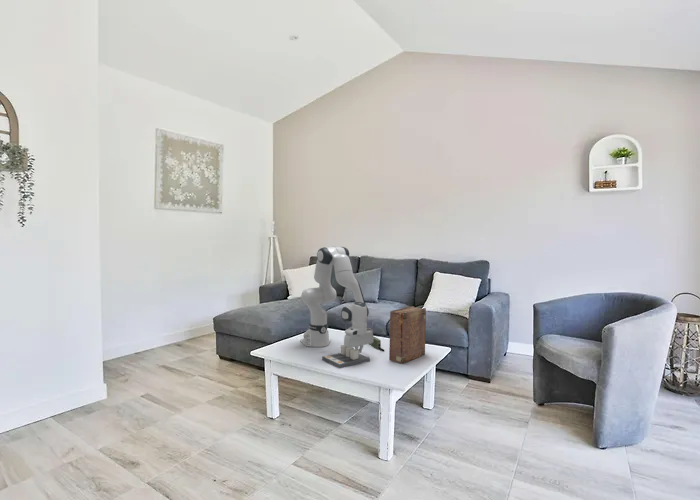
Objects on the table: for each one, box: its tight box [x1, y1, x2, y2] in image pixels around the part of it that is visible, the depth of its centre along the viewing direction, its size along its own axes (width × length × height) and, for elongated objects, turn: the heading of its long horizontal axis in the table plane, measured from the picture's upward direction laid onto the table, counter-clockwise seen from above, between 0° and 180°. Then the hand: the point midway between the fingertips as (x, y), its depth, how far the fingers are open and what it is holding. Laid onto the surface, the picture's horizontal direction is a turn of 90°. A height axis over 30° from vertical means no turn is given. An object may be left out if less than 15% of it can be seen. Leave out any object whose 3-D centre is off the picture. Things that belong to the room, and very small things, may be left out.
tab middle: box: [346, 347, 355, 357], centre depth 233 cm, size 3×4×5 cm
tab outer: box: [350, 348, 359, 360], centre depth 228 cm, size 3×4×5 cm
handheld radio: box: [368, 335, 385, 352], centre depth 261 cm, size 7×3×25 cm
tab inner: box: [340, 344, 346, 355], centre depth 238 cm, size 3×4×5 cm
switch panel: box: [321, 352, 370, 369], centre depth 232 cm, size 18×22×2 cm
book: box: [388, 305, 427, 365], centre depth 239 cm, size 25×9×30 cm, turn 137°
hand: (358, 352), depth 230 cm, fingers closed
